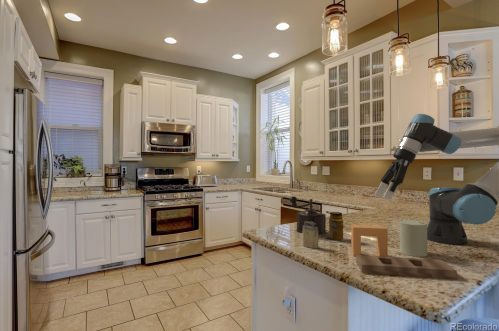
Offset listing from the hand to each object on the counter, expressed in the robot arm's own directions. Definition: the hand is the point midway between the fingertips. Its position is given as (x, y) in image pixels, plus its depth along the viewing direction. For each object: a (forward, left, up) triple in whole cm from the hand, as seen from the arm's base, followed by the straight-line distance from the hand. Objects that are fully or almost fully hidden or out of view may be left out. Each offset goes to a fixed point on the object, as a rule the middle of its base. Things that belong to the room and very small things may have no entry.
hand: (381, 197), depth 110 cm
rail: (+1, +25, -20) cm, 32 cm away
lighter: (+29, +5, -20) cm, 35 cm away
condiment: (+18, -8, -20) cm, 28 cm away
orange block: (+8, +12, -20) cm, 24 cm away
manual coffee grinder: (+30, -18, -20) cm, 40 cm away
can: (-9, +6, -20) cm, 23 cm away
